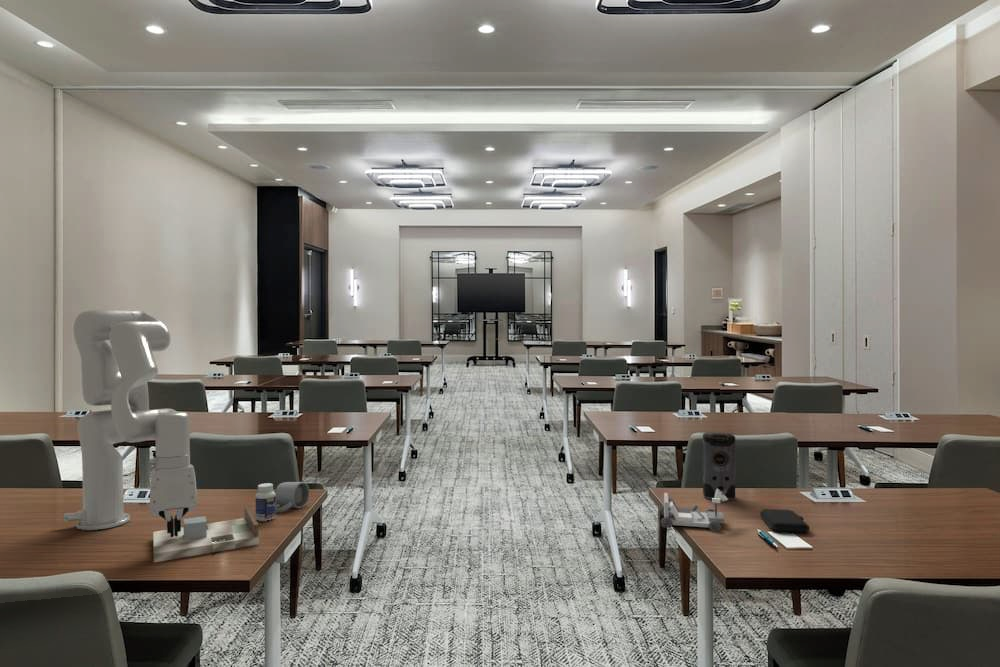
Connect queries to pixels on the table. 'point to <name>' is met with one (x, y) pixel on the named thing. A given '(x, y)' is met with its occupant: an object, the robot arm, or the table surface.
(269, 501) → the pill bottle
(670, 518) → the toy car
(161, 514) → the robot arm
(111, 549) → the table surface
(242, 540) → the board
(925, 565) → the table surface
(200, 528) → the block
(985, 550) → the table surface
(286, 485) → the ceramic mug
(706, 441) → the electronic device
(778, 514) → the carrying case or bag
